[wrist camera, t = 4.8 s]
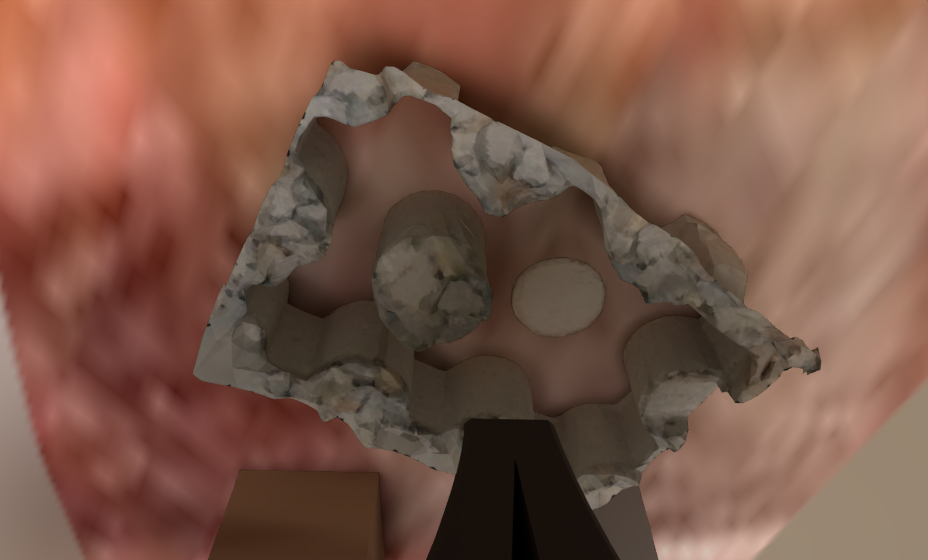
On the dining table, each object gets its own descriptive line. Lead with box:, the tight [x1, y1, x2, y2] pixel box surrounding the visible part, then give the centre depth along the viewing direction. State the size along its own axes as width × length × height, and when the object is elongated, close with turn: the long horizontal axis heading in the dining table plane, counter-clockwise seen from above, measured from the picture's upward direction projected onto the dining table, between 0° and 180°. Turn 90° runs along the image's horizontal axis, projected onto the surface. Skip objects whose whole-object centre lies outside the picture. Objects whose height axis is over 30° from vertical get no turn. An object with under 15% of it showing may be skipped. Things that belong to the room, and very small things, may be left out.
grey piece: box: [193, 61, 821, 510], centre depth 14 cm, size 11×8×4 cm
